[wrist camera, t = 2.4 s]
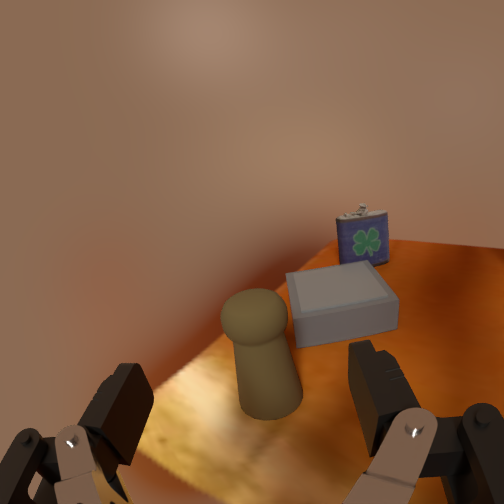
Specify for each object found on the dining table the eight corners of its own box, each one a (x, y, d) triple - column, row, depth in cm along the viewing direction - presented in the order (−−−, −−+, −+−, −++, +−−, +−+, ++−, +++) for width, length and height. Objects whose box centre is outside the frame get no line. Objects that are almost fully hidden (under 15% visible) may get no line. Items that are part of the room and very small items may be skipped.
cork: (253, 429, 23) (223, 329, 19) (231, 389, 28) (203, 294, 25) (315, 402, 24) (305, 299, 21) (285, 367, 30) (269, 272, 26)
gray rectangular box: (368, 284, 43) (367, 258, 41) (397, 328, 31) (399, 297, 30) (289, 298, 44) (285, 271, 42) (296, 348, 33) (292, 317, 31)
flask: (385, 257, 50) (383, 198, 47) (392, 263, 48) (390, 201, 44) (338, 267, 51) (332, 206, 47) (343, 274, 48) (337, 209, 44)
